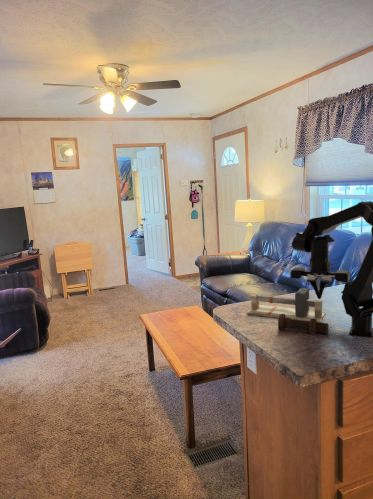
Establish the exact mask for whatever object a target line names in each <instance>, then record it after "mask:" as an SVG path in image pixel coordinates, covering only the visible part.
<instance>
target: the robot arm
mask: <svg viewBox="0 0 373 499" xmlns="http://www.w3.org/2000/svg"><path fill="white" fill-rule="evenodd" d="M360 218H362V219H363V220H364V222H366V224H368V225H370V226H371V227H370V228H371V229H370V232H371V241H370V243H369V245H368V246H369V247H368V249H367V251H366V253H365V256H364V258H363V260H362V262H361V265H360V268H359V270H358V273H357V275H356V277H355V279H354V280H351V272H350V271H349V270H345V269H344V270H343V269H337V270H336V271H335V272H333V271H331V264H332V262H331V261H330V260H329V258H330V257H329V254H330V253H329V252H330V250H329V243H333V242H335V239H334V238H333V237H332V236H331V235H330V233H332V231H335V230H336V229H337V227H339V226H341V225H344V224H347V223H349V222H352V221H354V220H355V221H356V220H357V219H360ZM307 222H308V223H307V225H306V227H305V229H304V230H303V232H302V231H299V232H296V233H295V236H294V237H293V239H292V242H291V247H292V249H293V250H294V251H297V252H302V253H308V254H309V253H310V258H309V267H310V270H306V268H305V267H294V268H293V269H292V270H290V276H289V277H290V279H295V280H296V279H297V280H300V279H301V278H302V277H307V280H306V282H308V283H310V285H311V287H312V288H313V291H314V293H315V295H316V297H317V300H322V297H323V295H324V290H325V288H326V286H327V285H328V284H330V283H331V282H332V280H333V279H335V281H336V282H337V283H344V286H343V287H344V288H343V290H342V291H340V293H341V294H342V295H341V301H342V304H343V306H344V310H345V314H346V315H348V316H350V318H351V327H350V329H349V330H348V334H349V335H353V336H360V337H368V338H373V201H371V200H366V201H360V202H358V203H357V204H354V205H352V206H350V207H346V208H345V209H342V210H340V211H337V212H335V213H332V214H330V215H326V216H319V217H313V218H312V217H311V218H310V219H309V220H308V221H307ZM320 278H321V279H320ZM349 280H350V281H349Z"/></svg>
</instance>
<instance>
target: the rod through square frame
mask: <svg viewBox="0 0 373 499" xmlns="http://www.w3.org/2000/svg"><path fill="white" fill-rule="evenodd" d="M250 301H251V302H250V304H251V308H250V309H249V310H248V311H246V315H252V316H254V315H255V316H259V317H260V316H263V317H269V318H278V319H279V315H280V314H285V318H290V319H297V320H301V321H310V319H316V320H317V322H320V323H322V320H323V319H324V318H325V315H326V313H327V312H326V311H323V300H322V299H310V298H309V299H305V301H306V306H309V308H310V307H311V308H314V310H311V309H309V311H308V312H307V314H306V315H305V317H299V316H295V308H293V307H283V306H275V305H272V306H271V305H265V304H264V305H263V304H260V302H261V303H262V302H263V303H269V304H280V305H281V304H282V305H291V306H295V297H289V296H279V295H278V296H277V295H272V294H271V295H268V294H259V293H253V294H252V295H250Z"/></svg>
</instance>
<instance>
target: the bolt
mask: <svg viewBox="0 0 373 499" xmlns="http://www.w3.org/2000/svg"><path fill="white" fill-rule="evenodd" d="M285 329H287V330H289V329H290V330H300V331H306V332H307V331H308V333H309V334H310V335H316V334H317V333H319V334H329V329H330V328H329V323H327V322H317V320H316V319H310V321H301V320H297V319H290V318H285V314H280V315H279V318H278V321H277V330H278V331H279V332H284V330H285Z"/></svg>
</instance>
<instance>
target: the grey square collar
mask: <svg viewBox="0 0 373 499" xmlns="http://www.w3.org/2000/svg"><path fill="white" fill-rule="evenodd" d="M294 298H295V305H294V307H295V308H294V309H295V316H299V317H305V315H306V314H307V312H308V311H309V310H310V307H309V306H306V301H305V299H310V288H304V287H303V288H302V287H300V288H299V289H298V290H297V291H296V293H294Z"/></svg>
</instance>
